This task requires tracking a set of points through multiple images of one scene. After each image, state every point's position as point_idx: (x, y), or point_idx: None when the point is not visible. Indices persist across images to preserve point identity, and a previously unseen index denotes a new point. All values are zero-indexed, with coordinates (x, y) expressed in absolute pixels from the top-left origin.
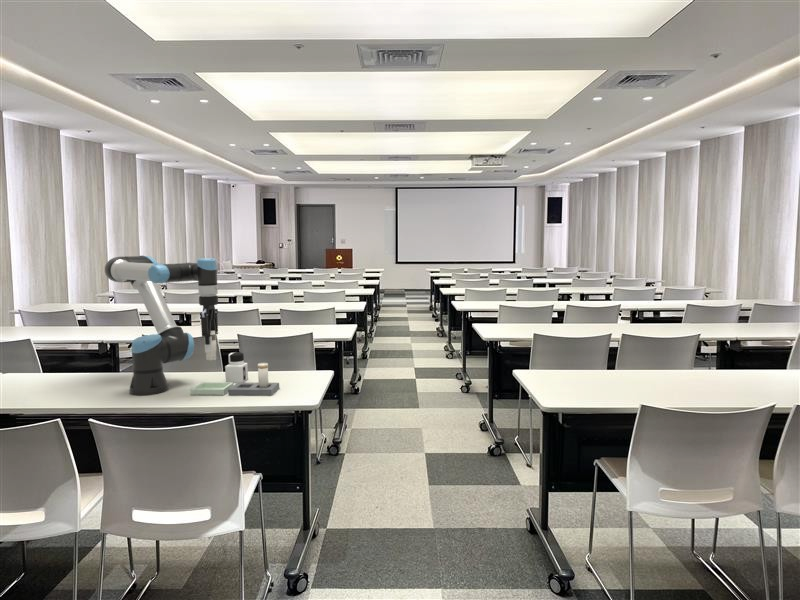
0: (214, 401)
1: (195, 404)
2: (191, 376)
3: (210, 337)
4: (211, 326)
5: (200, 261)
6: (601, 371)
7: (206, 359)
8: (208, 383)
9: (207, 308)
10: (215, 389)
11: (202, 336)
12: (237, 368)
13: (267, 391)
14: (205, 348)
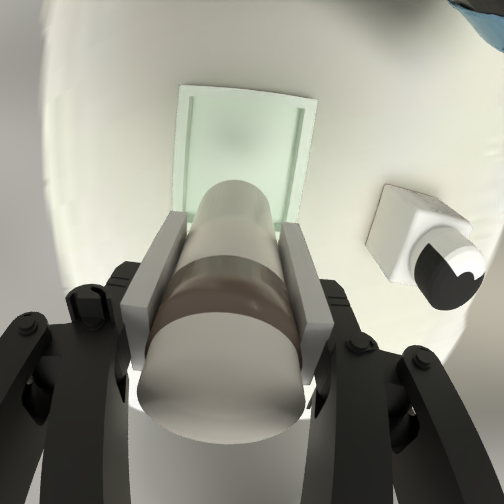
0: (101, 210)
1: (66, 158)
2: (493, 48)
3: (135, 359)
4: (316, 469)
5: None
6: None
7: (213, 186)
8: (300, 133)
9: None
10: (173, 198)
11: (80, 292)
12: (392, 261)
13: None
14: (163, 230)
